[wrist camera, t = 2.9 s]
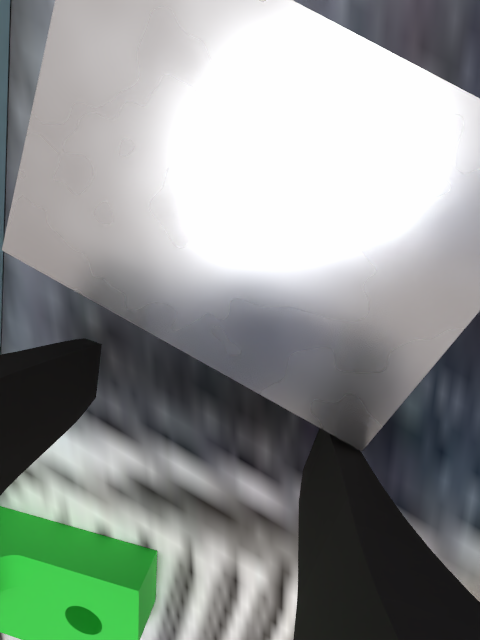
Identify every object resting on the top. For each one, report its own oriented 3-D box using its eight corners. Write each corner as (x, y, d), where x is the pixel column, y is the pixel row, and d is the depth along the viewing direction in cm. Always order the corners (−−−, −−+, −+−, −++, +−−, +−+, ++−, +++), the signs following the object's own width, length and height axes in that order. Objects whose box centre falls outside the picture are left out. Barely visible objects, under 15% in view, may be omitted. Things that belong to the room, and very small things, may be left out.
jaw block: (501, 175, 9) (602, 163, 6) (349, 381, 12) (361, 451, 9) (161, -5, 9) (79, -112, 6) (86, 236, 12) (1, 249, 9)
